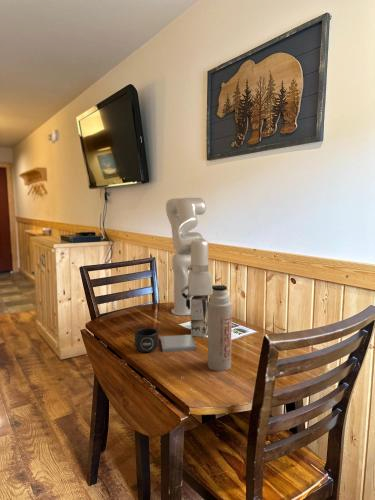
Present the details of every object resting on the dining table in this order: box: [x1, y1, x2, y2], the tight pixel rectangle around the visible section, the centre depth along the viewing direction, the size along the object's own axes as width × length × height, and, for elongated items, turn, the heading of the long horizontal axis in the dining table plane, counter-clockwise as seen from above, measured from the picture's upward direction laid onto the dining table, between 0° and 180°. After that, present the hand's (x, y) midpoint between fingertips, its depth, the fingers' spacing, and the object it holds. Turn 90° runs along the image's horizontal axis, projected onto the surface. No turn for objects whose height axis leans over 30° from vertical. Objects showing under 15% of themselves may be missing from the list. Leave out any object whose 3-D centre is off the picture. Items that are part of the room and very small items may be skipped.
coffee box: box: [190, 295, 209, 338], centre depth 149 cm, size 9×6×16 cm
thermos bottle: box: [207, 284, 232, 372], centre depth 117 cm, size 8×8×28 cm
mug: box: [134, 327, 159, 353], centre depth 134 cm, size 12×9×7 cm
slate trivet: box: [159, 334, 197, 353], centre depth 138 cm, size 13×13×1 cm
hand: (199, 307), depth 149 cm, fingers open, 9 cm apart
